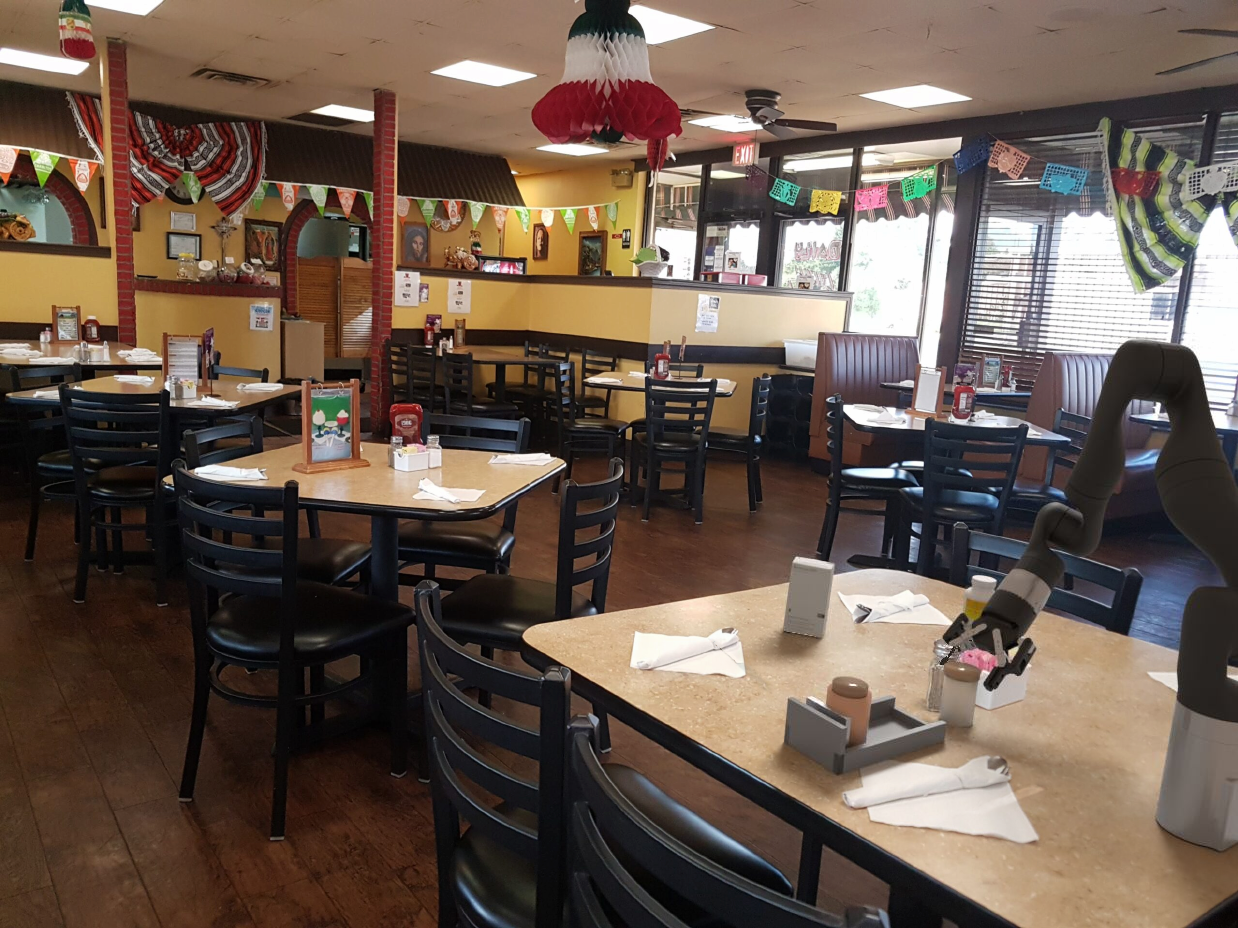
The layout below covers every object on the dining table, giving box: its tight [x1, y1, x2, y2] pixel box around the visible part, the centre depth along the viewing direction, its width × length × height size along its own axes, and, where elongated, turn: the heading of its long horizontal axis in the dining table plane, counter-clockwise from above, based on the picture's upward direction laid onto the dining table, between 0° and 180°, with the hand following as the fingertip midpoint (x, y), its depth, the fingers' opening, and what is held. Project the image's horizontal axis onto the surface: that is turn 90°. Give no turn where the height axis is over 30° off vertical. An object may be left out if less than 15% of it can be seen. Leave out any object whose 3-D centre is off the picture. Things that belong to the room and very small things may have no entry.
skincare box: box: [782, 556, 836, 639], centre depth 188 cm, size 8×6×15 cm
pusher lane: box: [783, 694, 948, 776], centre depth 140 cm, size 11×23×8 cm, turn 123°
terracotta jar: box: [825, 675, 873, 748], centre depth 137 cm, size 6×6×10 cm
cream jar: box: [938, 661, 982, 728], centre depth 151 cm, size 6×6×9 cm
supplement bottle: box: [962, 574, 997, 640], centre depth 190 cm, size 7×7×13 cm
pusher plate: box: [805, 695, 851, 749], centre depth 135 cm, size 8×2×7 cm, turn 33°
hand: (964, 678), depth 151 cm, fingers open, 8 cm apart
